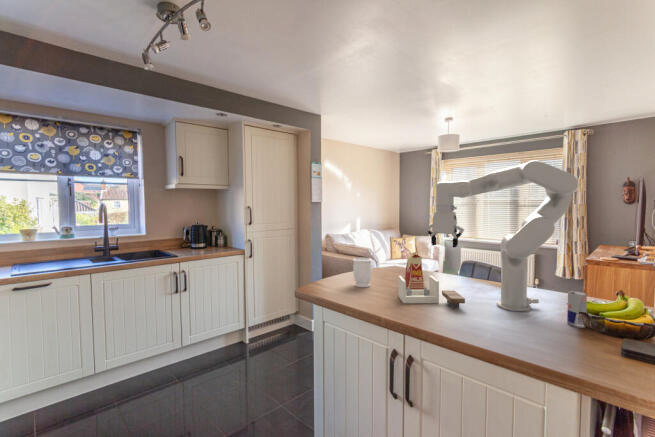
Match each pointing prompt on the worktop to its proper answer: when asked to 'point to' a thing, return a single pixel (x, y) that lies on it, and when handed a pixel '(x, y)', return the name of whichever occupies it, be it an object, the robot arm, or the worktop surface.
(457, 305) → the rubber block
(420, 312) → the worktop surface
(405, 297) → the peg frame
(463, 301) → the board
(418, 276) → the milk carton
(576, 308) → the energy drink
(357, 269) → the jar
